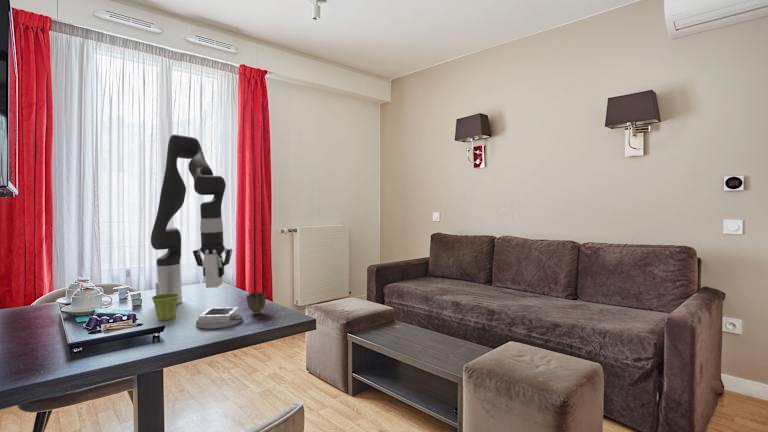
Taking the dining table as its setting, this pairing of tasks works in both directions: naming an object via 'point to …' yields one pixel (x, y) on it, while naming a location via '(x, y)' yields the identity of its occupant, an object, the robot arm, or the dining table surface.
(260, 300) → the cup
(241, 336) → the dining table surface
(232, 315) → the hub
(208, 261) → the skincare box
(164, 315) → the plant pot
